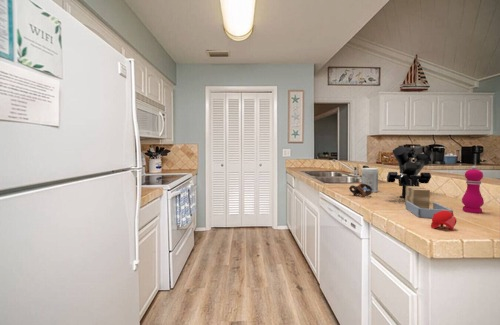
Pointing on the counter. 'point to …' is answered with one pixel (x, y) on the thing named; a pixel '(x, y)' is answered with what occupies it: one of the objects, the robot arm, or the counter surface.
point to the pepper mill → (473, 191)
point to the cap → (443, 219)
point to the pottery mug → (361, 190)
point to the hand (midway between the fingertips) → (411, 190)
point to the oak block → (418, 196)
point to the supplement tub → (370, 178)
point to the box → (426, 210)
